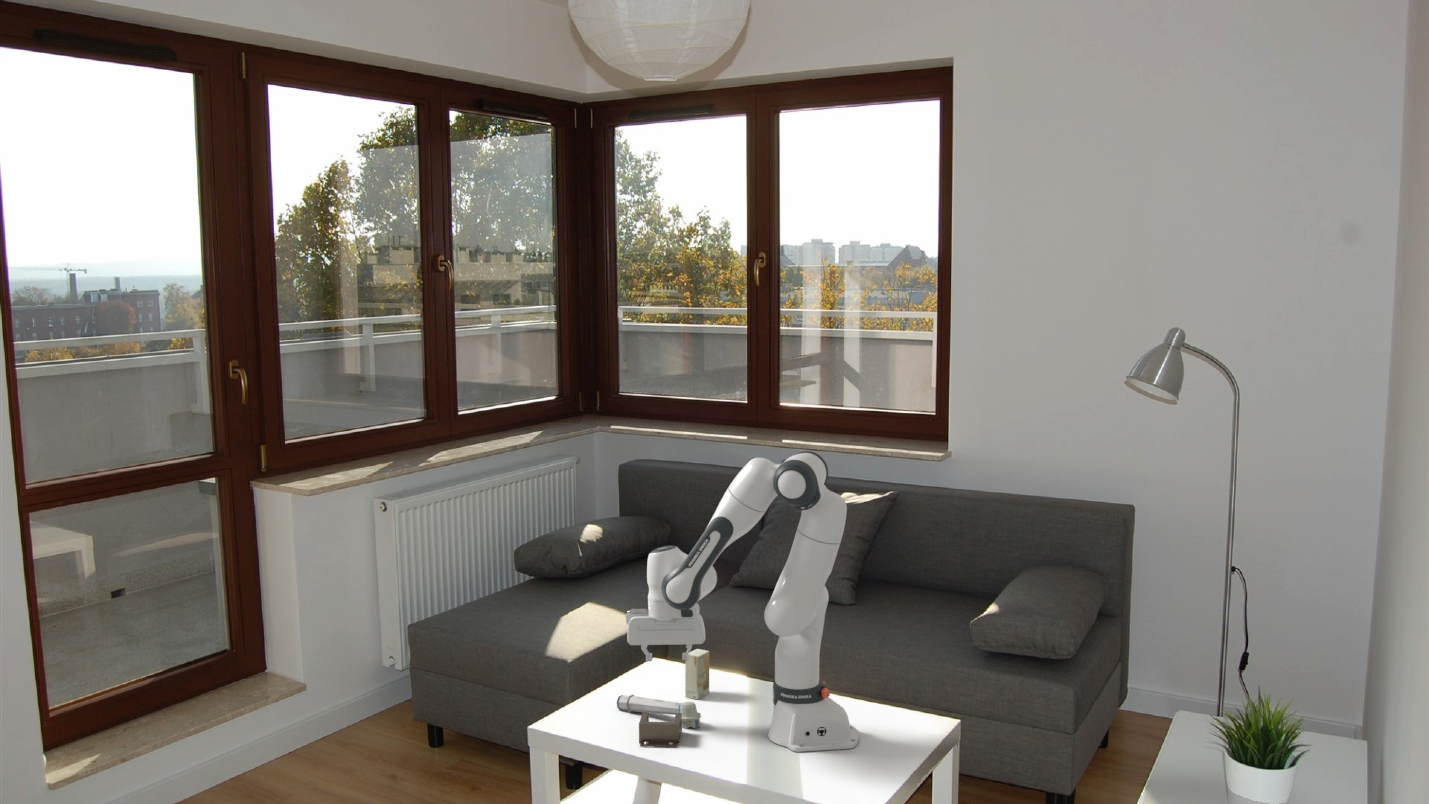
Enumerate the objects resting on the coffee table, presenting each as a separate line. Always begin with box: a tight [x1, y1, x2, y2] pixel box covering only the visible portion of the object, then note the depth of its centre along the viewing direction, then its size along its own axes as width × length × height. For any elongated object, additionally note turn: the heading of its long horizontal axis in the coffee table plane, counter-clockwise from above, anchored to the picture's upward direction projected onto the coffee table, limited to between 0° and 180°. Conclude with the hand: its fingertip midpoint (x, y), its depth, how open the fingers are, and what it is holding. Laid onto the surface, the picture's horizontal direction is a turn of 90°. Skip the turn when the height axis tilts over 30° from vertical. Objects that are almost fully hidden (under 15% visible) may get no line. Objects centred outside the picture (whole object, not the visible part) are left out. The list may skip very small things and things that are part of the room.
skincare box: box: [684, 648, 710, 700], centre depth 297 cm, size 6×4×12 cm
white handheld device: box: [616, 693, 702, 729], centre depth 282 cm, size 5×7×25 cm
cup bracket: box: [638, 712, 683, 749], centre depth 268 cm, size 10×10×5 cm
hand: (667, 660), depth 279 cm, fingers open, 8 cm apart
